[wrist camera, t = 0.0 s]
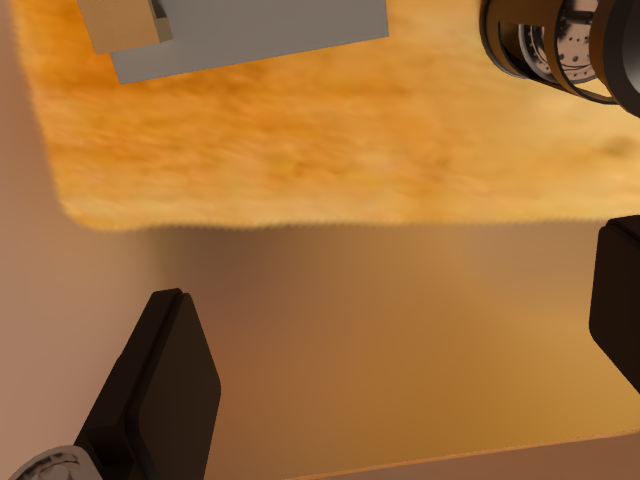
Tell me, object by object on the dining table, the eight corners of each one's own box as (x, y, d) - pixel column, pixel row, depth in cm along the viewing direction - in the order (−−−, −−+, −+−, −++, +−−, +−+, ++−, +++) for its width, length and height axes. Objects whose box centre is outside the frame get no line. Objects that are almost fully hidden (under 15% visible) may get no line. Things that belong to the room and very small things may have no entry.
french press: (573, 93, 40) (860, 195, 19) (463, 79, 39) (641, 170, 19) (631, -74, 35) (1108, -178, 14) (506, -94, 34) (818, -235, 13)
